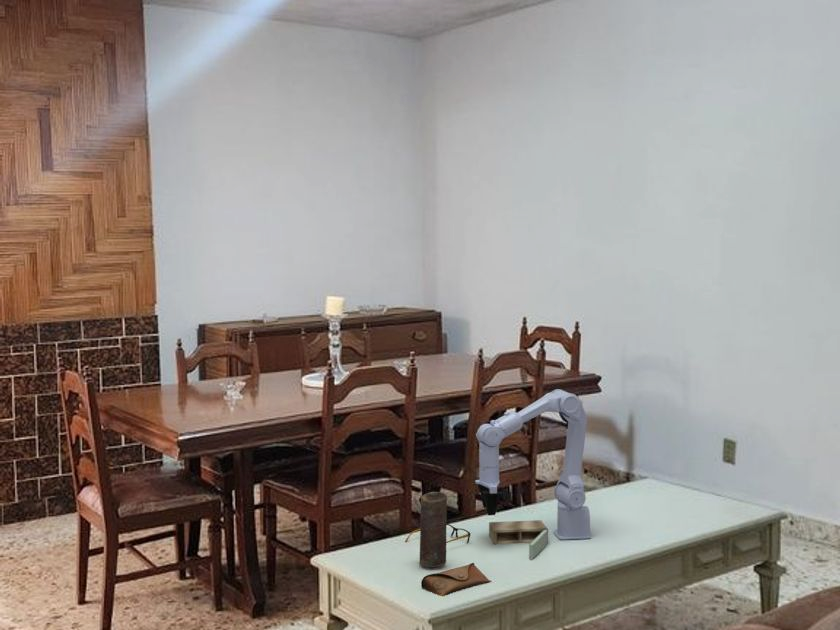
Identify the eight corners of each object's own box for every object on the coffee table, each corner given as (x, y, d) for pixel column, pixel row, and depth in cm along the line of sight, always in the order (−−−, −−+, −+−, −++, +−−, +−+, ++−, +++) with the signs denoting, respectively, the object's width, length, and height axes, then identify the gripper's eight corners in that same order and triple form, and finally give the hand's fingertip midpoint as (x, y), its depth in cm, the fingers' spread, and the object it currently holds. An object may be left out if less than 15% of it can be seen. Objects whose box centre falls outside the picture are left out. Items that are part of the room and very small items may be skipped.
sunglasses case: (441, 597, 247) (433, 571, 249) (426, 604, 252) (418, 578, 254) (494, 581, 258) (485, 556, 260) (478, 588, 263) (470, 563, 265)
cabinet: (541, 533, 298) (541, 520, 298) (547, 542, 290) (547, 528, 290) (489, 535, 296) (489, 522, 296) (494, 544, 288) (494, 530, 288)
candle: (452, 566, 270) (452, 494, 268) (433, 572, 265) (433, 500, 263) (432, 559, 276) (432, 489, 274) (414, 565, 271) (413, 494, 269)
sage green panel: (545, 542, 290) (545, 528, 289) (548, 542, 289) (548, 529, 289) (529, 558, 275) (529, 544, 275) (532, 559, 275) (532, 545, 274)
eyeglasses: (472, 545, 290) (472, 531, 289) (436, 555, 280) (436, 542, 280) (440, 533, 300) (440, 520, 300) (404, 543, 291) (404, 530, 291)
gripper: (471, 460, 293) (471, 504, 295) (479, 472, 279) (479, 518, 280) (495, 459, 294) (495, 503, 295) (504, 471, 280) (504, 517, 281)
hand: (489, 511), depth 288 cm, fingers open, 7 cm apart
